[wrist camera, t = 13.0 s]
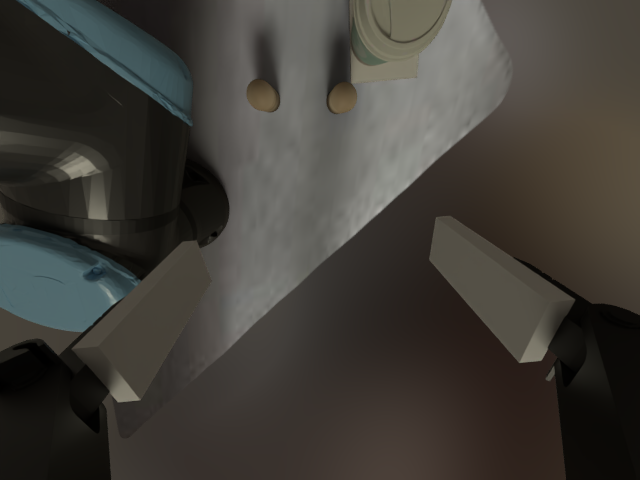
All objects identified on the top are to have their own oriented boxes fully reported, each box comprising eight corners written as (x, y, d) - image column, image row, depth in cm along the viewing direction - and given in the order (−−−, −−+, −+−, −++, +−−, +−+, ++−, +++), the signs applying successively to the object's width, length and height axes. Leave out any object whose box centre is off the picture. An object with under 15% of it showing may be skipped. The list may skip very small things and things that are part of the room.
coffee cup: (354, -22, 27) (385, -117, 16) (418, 10, 28) (485, -56, 18) (330, 64, 30) (342, 33, 20) (388, 88, 32) (428, 72, 21)
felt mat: (350, 83, 32) (351, 83, 31) (349, -6, 28) (349, -8, 27) (415, 77, 32) (416, 77, 31) (423, -13, 28) (425, -15, 27)
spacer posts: (255, 121, 33) (243, 122, 27) (216, -85, 24) (184, -155, 18) (347, 112, 33) (357, 111, 27) (342, -97, 24) (354, -171, 18)
